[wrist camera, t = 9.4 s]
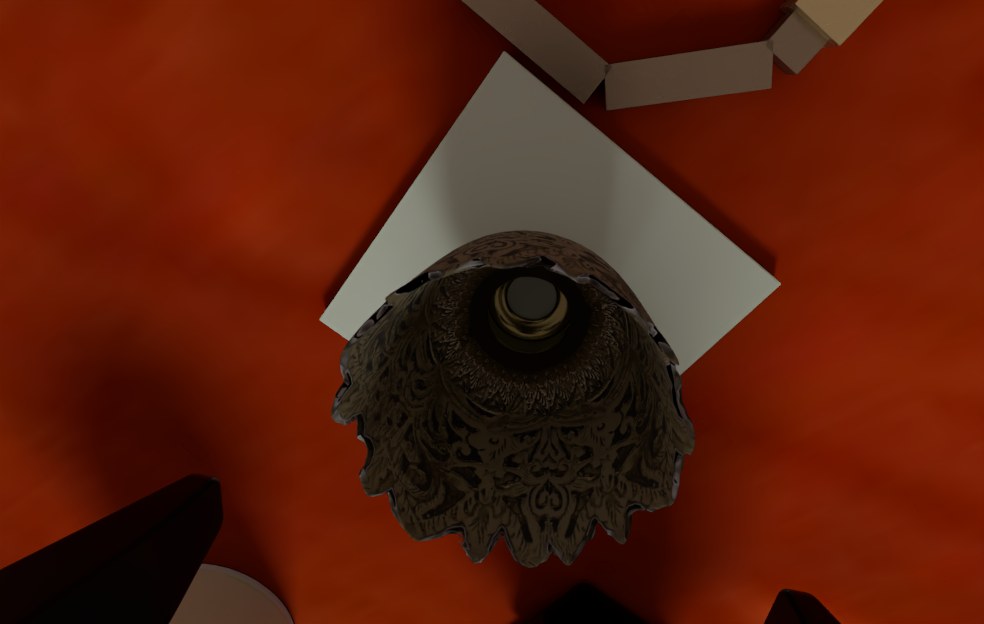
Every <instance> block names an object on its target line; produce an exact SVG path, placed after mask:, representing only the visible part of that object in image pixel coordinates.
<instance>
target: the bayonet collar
mask: <svg viewBox="0 0 984 624" xmlns="http://www.w3.org/2000/svg"><path fill="white" fill-rule="evenodd" d="M461 1H463V2H464V3H465V4H466V5H467V6H469V7H470V8H471V9H472V10H473V11H474V12H476V13H477V14H478V15H479V16H480V17H482V18H483V19H484V20H485V21H486V22H488V23H489V24H490V25H491V26H492V27H493V28H495V29H496V30H497V31H498V32H499V33H501V34H502V35H503V36H504V37H505V38H506V39H508V40H509V41H510V42H511V43H512V44H514V45H515V46H516V47H517V48H518V49H519V50H521V51H522V52H523V53H524V54H525V55H527V56H528V57H529V58H530V59H531V60H532V61H534V62H535V63H536V64H537V65H538V66H540V67H541V68H542V69H543V70H544V71H545V72H547V73H548V74H549V75H550V76H551V77H553V78H554V79H555V80H556V81H557V82H558V83H560V84H561V85H562V86H563V87H564V88H566V89H567V90H568V91H569V92H570V93H571V94H573V95H574V96H575V97H576V98H577V99H579V100H580V101H581V102H582V103H583V104H584V103H585V102H586V101H587V99H588V98H589V97H590V95H591V94H592V93H593V92H594V90H595V89H596V88H597V86H598V85H599V84H600V83H601V81H602V80H603V79H604V95H605V109H606V110H614V109H622V108H629V107H636V106H644V105H651V104H659V103H666V102H673V101H681V100H688V99H696V98H703V97H711V96H718V95H725V94H733V93H740V92H748V91H755V90H762V89H770V88H771V85H772V64H773V62H774V63H775V64H776V65H777V66H778V67H779V68H780V69H781V70H782V71H783V72H784V73H786V74H793V75H797V74H798V73H799V72H800V71H801V70H802V69H803V67H804V66H805V65H806V64H807V63H808V62H809V61H810V60H811V59H812V58H813V57H814V56H815V55H816V54H817V53H818V51H819V50H820V49H821V48H823V47H833V46H840V45H841V44H842V43H843V42H844V41H845V40H846V39H847V38H848V37H849V36H850V35H851V34H852V33H853V31H854V30H855V29H856V28H857V27H858V26H859V25H860V24H861V23H862V22H863V21H864V20H865V19H866V18H867V17H868V16H869V15H870V14H871V13H872V11H873V10H874V9H875V8H876V7H877V6H878V5H879V4H880V3H881V2H882V1H883V0H786V1H785V2H784V4H783V5H782V6H781V7H780V8H779V9H780V10H781V11H782V12H783V13H784V15H783V16H782V17H781V18H780V19H779V20H778V21H777V22H776V24H775V25H774V26H773V27H772V28H771V29H770V30H769V32H768V33H767V34H766V35H765V36H764V37H763V38H762V40H761V41H760V42H755V43H749V44H742V45H735V46H729V47H722V48H715V49H708V50H702V51H695V52H688V53H682V54H675V55H668V56H661V57H655V58H648V59H641V60H635V61H628V62H621V63H614V64H608V63H607V62H606V61H604V60H603V59H602V58H601V57H600V56H599V55H598V54H596V53H595V52H594V51H593V50H592V49H591V48H589V47H588V46H587V45H586V44H585V43H584V42H583V41H581V40H580V39H579V38H578V37H577V36H576V35H574V34H573V33H572V32H571V31H570V30H569V29H568V28H566V27H565V26H564V25H563V24H562V23H561V22H559V21H558V20H557V19H556V18H555V17H554V16H552V15H551V14H550V13H549V12H548V11H547V10H546V9H544V8H543V7H542V6H541V5H540V4H539V3H537V2H536V1H535V0H461Z"/></svg>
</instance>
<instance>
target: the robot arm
mask: <svg viewBox="0 0 984 624" xmlns="http://www.w3.org/2000/svg"><path fill="white" fill-rule="evenodd" d="M222 522H223V505H222V495H221V486H220V482H219V480H218V479H217V478H215V477H211V476H206V475H201V474H191V475H188V476H186V477H184V478H182V479H180V480H178V481H176V482H174V483H172V484H170V485H168V486H166V487H164V488H162V489H160V490H158V491H156V492H154V493H152V494H150V495H148V496H146V497H144V498H142V499H140V500H138V501H136V502H134V503H132V504H130V505H128V506H126V507H124V508H122V509H120V510H118V511H116V512H114V513H112V514H110V515H108V516H106V517H104V518H102V519H100V520H98V521H96V522H94V523H92V524H90V525H88V526H86V527H84V528H82V529H80V530H78V531H76V532H74V533H72V534H70V535H68V536H66V537H64V538H62V539H60V540H58V541H56V542H54V543H52V544H50V545H48V546H46V547H44V548H42V549H40V550H38V551H36V552H34V553H33V554H31V555H29V556H27V557H25V558H23V559H21V560H19V561H17V562H15V563H13V564H11V565H9V566H7V567H5V568H3V569H1V570H0V624H169V623H170V621H171V620H172V618H173V616H174V614H175V612H176V611H177V609H178V607H179V605H180V604H181V602H182V600H183V598H184V596H185V594H186V592H187V590H188V589H189V587H190V585H191V583H192V581H193V579H194V577H195V575H196V574H197V572H198V570H199V568H200V566H201V564H202V562H203V560H204V559H205V557H206V555H207V553H208V551H209V549H210V547H211V545H212V544H213V542H214V540H215V538H216V536H217V534H218V532H219V530H220V528H221V525H222ZM527 624H647V623H645V622H644V621H642V620H641V619H639V618H638V617H636V616H635V615H633V614H632V613H631V612H629V611H628V610H626V609H625V608H623V607H622V606H620V605H619V604H618V603H616V602H615V601H613V600H612V599H610V598H609V597H607V596H606V595H604V594H603V593H602V592H600V591H599V590H597V589H596V588H594V587H593V586H591V585H589V584H579V585H577V586H575V587H574V588H573V589H571V590H570V591H569V592H568V593H566V594H565V595H564V596H562V597H561V598H560V599H559V600H557V601H556V602H555V603H553V604H552V605H551V606H550V607H548V608H547V609H546V610H544V611H542V612H541V613H540V614H539V615H537V616H536V617H535V618H533V619H532V620H531V621H530V622H528V623H527ZM764 624H841V623H840V622H839V621H838V620H837V619H836V618H835V617H834V616H833V615H832V614H831V613H830V612H829V611H828V610H827V609H826V608H825V607H824V606H823V605H822V603H821V602H820V601H819V600H818V599H817V598H815V597H814V596H813V595H811V594H809V593H806V592H801V591H796V590H791V589H783V590H781V591H780V592H779V594H778V595H777V597H776V599H775V602H774V604H773V606H772V608H771V610H770V612H769V614H768V616H767V618H766V620H765V623H764Z"/></svg>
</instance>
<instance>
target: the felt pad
mask: <svg viewBox="0 0 984 624" xmlns="http://www.w3.org/2000/svg"><path fill="white" fill-rule="evenodd" d="M522 230H528V231H539V232H545V233H550V234H555V235H558V236H561V237H564V238H567V239H570V240H572V241H574V242H576V243H579V244H581V245H583V246H584V247H586V248H588V249H589V250H591V251H593V252H594V253H596V254H597V255H598V256H599V257H601V258H602V259H603V260H605V261H606V262H607V263H608V264H609V265H610V266H611V267H612V268H613V269H614V270H615V271H616V272H617V273H618V274H619V275H620V276H621V277H622V278H623V280H624V281H625V282H626V283H627V284H628V286H629V287H630V288H631V289H632V291H633V292H634V293H635V295H636V296H637V298H638V299H639V301H640V302H641V304H642V305H643V307H644V308H645V310H646V311H647V313H648V315H649V316H650V318H651V319H652V321H653V322H654V324H655V326H656V327H657V329H658V330H659V332H660V333H661V334H662V335H663V337H664V338H665V339H666V341H667V342H668V344H669V345H670V347H671V348H672V350H673V351H674V353H675V355H676V357H677V359H678V361H679V366H678V365H676V369H677V371H678V373H679V375H681V374H682V373H683V372H684V371H685V370H686V369H688V368H689V367H690V366H691V365H692V364H693V363H694V362H695V361H696V360H698V359H699V358H700V357H701V356H702V355H703V354H704V353H705V352H706V351H708V350H709V349H710V348H711V347H712V346H713V345H714V344H715V343H716V342H718V341H719V340H720V339H721V338H722V337H723V336H724V335H725V334H726V333H728V332H729V331H730V330H731V329H732V328H733V327H734V326H735V325H736V324H738V323H739V322H740V321H741V320H742V319H743V318H744V317H745V316H746V315H747V314H749V313H750V312H751V311H752V310H753V309H754V308H755V307H756V306H757V305H759V304H760V303H761V302H762V301H763V300H764V299H765V298H766V297H767V296H769V295H770V294H771V293H772V292H773V291H774V290H775V289H776V288H777V287H779V286H780V285H781V283H780V282H779V281H778V280H777V279H776V278H775V277H774V276H772V275H771V274H770V273H769V272H768V271H766V270H765V269H764V268H763V267H762V266H760V265H759V264H758V263H757V262H756V261H755V260H753V259H752V258H751V257H750V256H749V255H747V254H746V253H745V252H744V251H743V250H741V249H740V248H739V247H738V246H737V245H735V244H734V243H733V242H732V241H731V240H730V239H728V238H727V237H726V236H725V235H724V234H722V233H721V232H720V231H719V230H718V229H716V228H715V227H714V226H713V225H712V224H711V223H709V222H708V221H707V220H706V219H705V218H703V217H702V216H701V215H700V214H699V213H697V212H696V211H695V210H694V209H693V208H692V207H690V206H689V205H688V204H687V203H686V202H684V201H683V200H682V199H681V198H680V197H678V196H677V195H676V194H675V193H674V192H672V191H671V190H670V189H669V188H668V187H667V186H665V185H664V184H663V183H662V182H661V181H659V180H658V179H657V178H656V177H655V176H653V175H652V174H651V173H650V172H649V171H648V170H646V169H645V168H644V167H643V166H642V165H640V164H639V163H638V162H637V161H636V160H634V159H633V158H632V157H631V156H630V155H629V154H627V153H626V152H625V151H624V150H623V149H621V148H620V147H619V146H618V145H617V144H615V143H614V142H613V141H612V140H611V139H609V138H608V137H607V136H606V135H605V134H604V133H602V132H601V131H600V130H599V129H598V128H596V127H595V126H594V125H593V124H592V123H590V122H589V121H588V120H587V119H586V118H585V117H583V116H582V115H581V114H580V113H579V112H577V111H576V110H575V109H574V108H573V107H571V106H570V105H569V104H568V103H567V102H566V101H564V100H563V99H562V98H561V97H560V96H558V95H557V94H556V93H555V92H554V91H552V90H551V89H550V88H549V87H548V86H546V85H545V84H544V83H543V82H542V81H541V80H539V79H538V78H537V77H536V76H535V75H533V74H532V73H531V72H530V71H529V70H527V69H526V68H525V67H524V66H523V65H522V64H520V63H519V62H518V61H517V60H516V59H514V58H513V57H512V56H511V55H510V54H508V53H507V52H506V51H504V52H503V53H502V54H501V56H500V57H499V59H498V60H497V62H496V63H495V65H494V66H493V68H492V69H491V70H490V72H489V73H488V75H487V76H486V78H485V79H484V81H483V82H482V84H481V85H480V86H479V88H478V89H477V91H476V92H475V94H474V95H473V97H472V98H471V100H470V101H469V103H468V104H467V105H466V107H465V108H464V110H463V111H462V113H461V114H460V116H459V117H458V119H457V120H456V121H455V123H454V124H453V126H452V127H451V129H450V130H449V132H448V133H447V135H446V136H445V137H444V139H443V140H442V142H441V143H440V145H439V146H438V148H437V149H436V151H435V152H434V153H433V155H432V156H431V158H430V159H429V161H428V162H427V164H426V165H425V167H424V168H423V169H422V171H421V172H420V174H419V175H418V177H417V178H416V180H415V181H414V183H413V184H412V185H411V187H410V188H409V190H408V191H407V193H406V194H405V196H404V197H403V199H402V200H401V201H400V203H399V204H398V206H397V207H396V209H395V210H394V212H393V213H392V215H391V216H390V218H389V219H388V220H387V222H386V223H385V225H384V226H383V228H382V229H381V231H380V232H379V234H378V235H377V236H376V238H375V239H374V241H373V242H372V244H371V245H370V247H369V248H368V250H367V251H366V252H365V254H364V255H363V257H362V258H361V260H360V261H359V263H358V264H357V266H356V267H355V268H354V270H353V271H352V273H351V274H350V276H349V277H348V279H347V280H346V282H345V283H344V284H343V286H342V287H341V289H340V290H339V292H338V293H337V295H336V296H335V298H334V299H333V300H332V302H331V303H330V305H329V306H328V308H327V309H326V311H325V312H324V314H323V315H322V316H321V318H320V319H319V320H320V321H322V322H323V323H324V324H326V325H327V326H329V327H330V328H331V329H333V330H334V331H336V332H337V333H338V334H340V335H341V336H343V337H344V338H345V339H347V340H348V341H349V340H350V339H351V338H352V336H353V335H354V334H355V333H356V332H357V330H358V329H359V328H360V327H361V326H362V325H363V324H364V323H365V321H367V320H368V319H369V317H370V316H371V315H372V314H373V313H374V312H376V311H377V310H378V309H379V308H380V307H381V306H382V305H383V304H384V303H385V302H386V300H385V298H386V297H387V296H388V295H389V294H390V293H392V292H393V291H395V290H397V289H398V288H400V287H402V286H404V285H405V284H407V283H408V282H409V281H411V280H412V279H413V278H415V277H416V276H417V275H419V274H420V273H421V272H423V271H424V270H425V269H427V268H428V267H429V266H431V265H432V264H433V263H435V262H436V261H438V260H439V259H441V258H442V257H444V256H445V255H447V254H448V253H450V252H451V251H453V250H455V249H456V248H458V247H460V246H462V245H464V244H466V243H468V242H471V241H473V240H476V239H478V238H481V237H484V236H487V235H491V234H495V233H499V232H506V231H522ZM507 297H508V303H509V305H510V307H511V309H512V310H513V311H514V312H515V313H516V314H517V315H519V316H520V317H523V318H526V319H539V318H542V317H544V316H546V315H548V314H549V313H550V312H551V311H552V310H553V308H554V306H555V304H556V291H555V288H554V286H553V285H552V284H551V283H549V282H547V281H545V280H542V279H539V278H534V277H521V278H517V279H515V280H514V281H513V282H512V284H511V285H510V287H509V290H508V295H507Z"/></svg>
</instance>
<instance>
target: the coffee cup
mask: <svg viewBox="0 0 984 624" xmlns="http://www.w3.org/2000/svg"><path fill="white" fill-rule="evenodd" d="M169 624H293V620H292V618H291V616H290V614H289V612H288V611H287V609H286V607H285V606H284V605H283V603H282V602H281V601H280V600H279V599H278V598H277V597H276V596H275V595H274V594H273V593H272V592H271V591H270V590H269V589H267V588H266V587H265V586H263V585H262V584H260V583H259V582H257V581H256V580H254V579H252V578H251V577H249V576H247V575H245V574H242V573H240V572H238V571H235V570H232V569H230V568H225V567H221V566H217V565H210V564H201V566H200V568H199V570H198V572H197V574H196V575H195V577H194V579H193V581H192V583H191V585H190V587H189V589H188V590H187V592H186V594H185V596H184V598H183V600H182V602H181V604H180V605H179V607H178V609H177V611H176V612H175V614H174V616H173V618H172V620H171V621H170V623H169Z"/></svg>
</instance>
